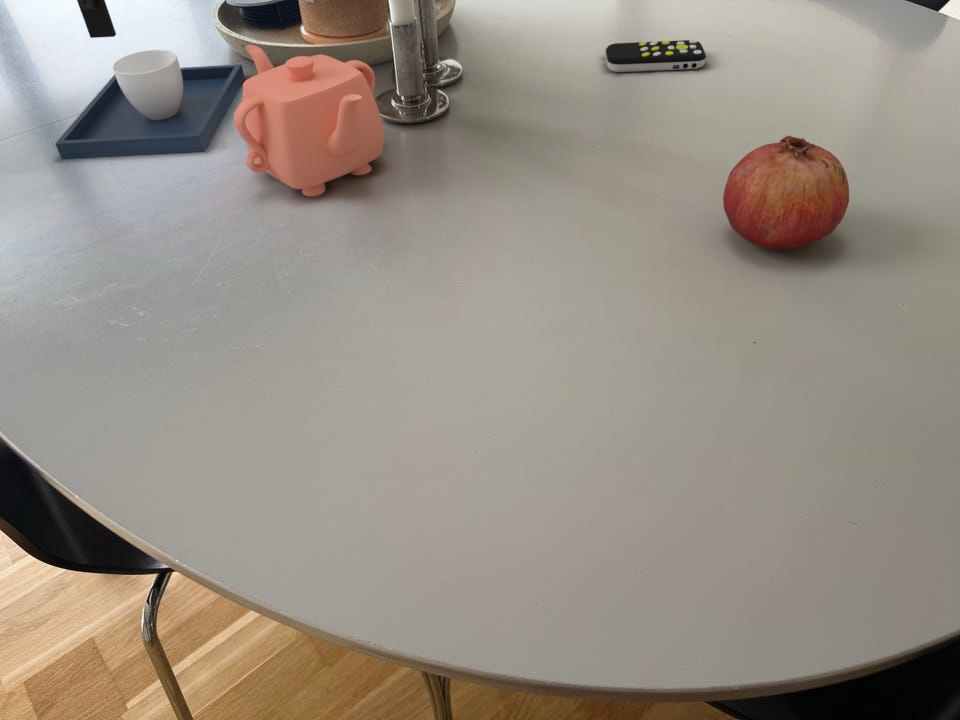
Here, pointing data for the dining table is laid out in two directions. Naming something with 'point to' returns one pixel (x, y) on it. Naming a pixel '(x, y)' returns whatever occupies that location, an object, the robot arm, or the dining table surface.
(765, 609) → the dining table surface
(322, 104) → the teapot
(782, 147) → the fruit
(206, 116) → the tray
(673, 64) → the remote control
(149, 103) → the cup
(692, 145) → the dining table surface
